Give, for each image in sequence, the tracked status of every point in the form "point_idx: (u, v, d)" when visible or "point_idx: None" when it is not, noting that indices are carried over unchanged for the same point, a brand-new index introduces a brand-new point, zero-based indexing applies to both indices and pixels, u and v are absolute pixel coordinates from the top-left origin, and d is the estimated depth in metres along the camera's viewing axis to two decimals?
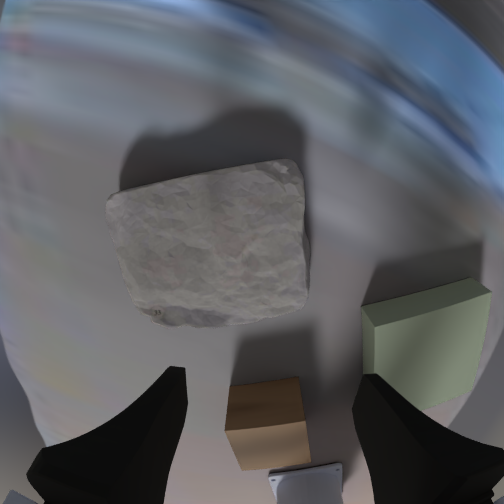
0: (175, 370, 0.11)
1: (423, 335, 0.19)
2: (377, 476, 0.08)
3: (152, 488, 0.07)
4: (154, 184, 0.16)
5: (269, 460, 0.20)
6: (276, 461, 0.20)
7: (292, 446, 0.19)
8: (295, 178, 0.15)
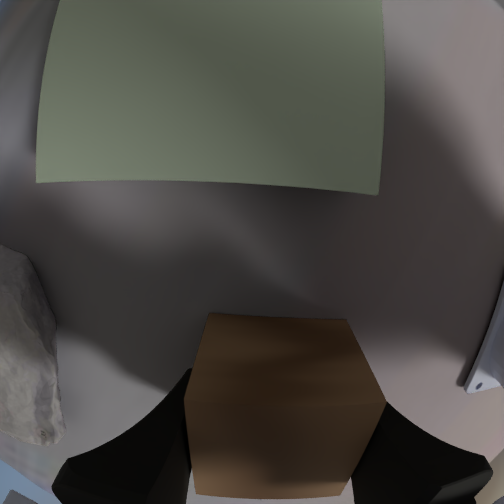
0: None
1: (89, 57, 0.07)
2: (357, 479, 0.08)
3: (177, 493, 0.07)
4: None
5: (323, 466, 0.08)
6: (335, 458, 0.08)
7: (284, 433, 0.08)
8: None
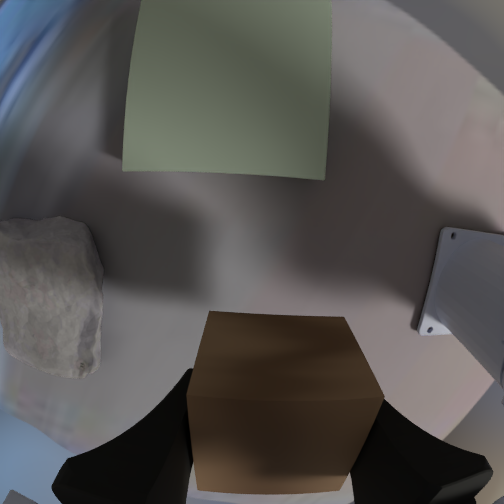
0: None
1: (159, 98, 0.13)
2: (357, 479, 0.08)
3: (177, 493, 0.07)
4: (1, 323, 0.18)
5: (323, 461, 0.08)
6: (334, 452, 0.08)
7: (284, 428, 0.08)
8: None
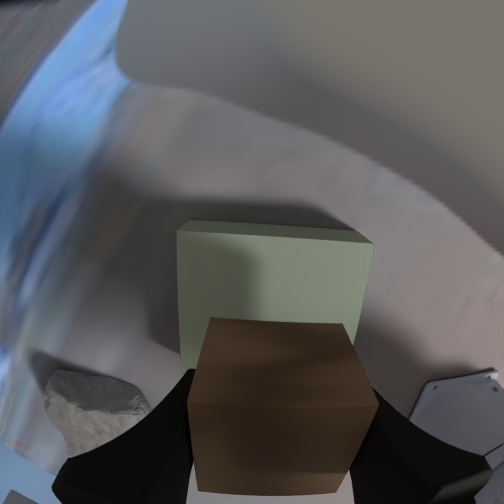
0: None
1: None
2: (357, 479, 0.08)
3: (177, 493, 0.07)
4: None
5: (319, 464, 0.09)
6: (330, 457, 0.09)
7: (282, 433, 0.08)
8: (49, 394, 0.19)
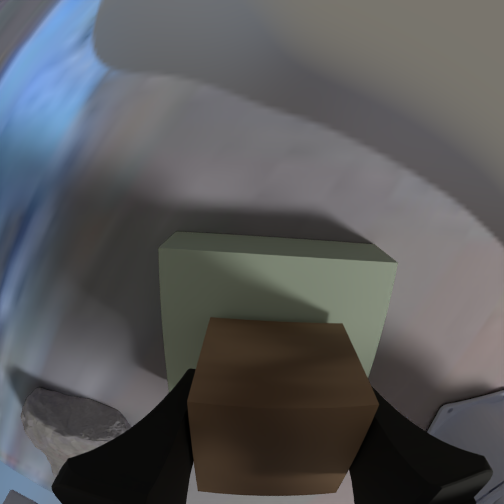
0: None
1: None
2: (357, 479, 0.08)
3: (177, 493, 0.07)
4: (49, 461, 0.18)
5: (320, 464, 0.09)
6: (331, 456, 0.09)
7: (282, 433, 0.08)
8: (26, 415, 0.16)
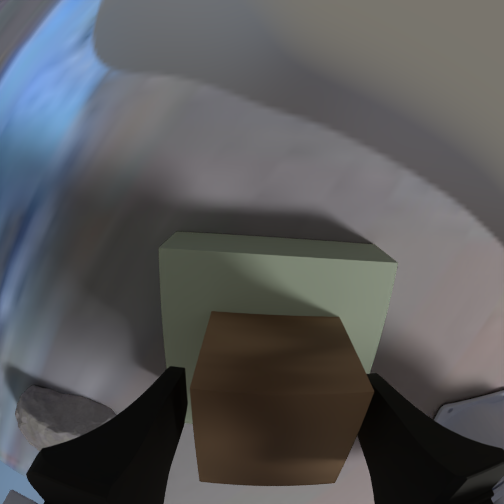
0: (175, 370, 0.11)
1: None
2: (377, 476, 0.08)
3: (152, 488, 0.07)
4: None
5: (318, 453, 0.09)
6: (329, 445, 0.09)
7: (280, 420, 0.09)
8: (20, 412, 0.16)
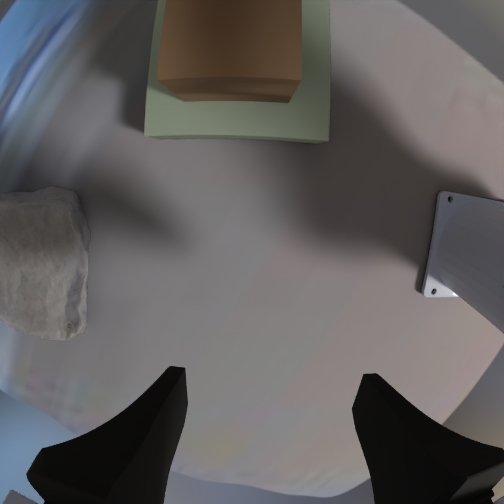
0: (175, 370, 0.11)
1: None
2: (377, 476, 0.08)
3: (152, 488, 0.07)
4: None
5: (271, 23, 0.10)
6: (278, 14, 0.09)
7: None
8: None
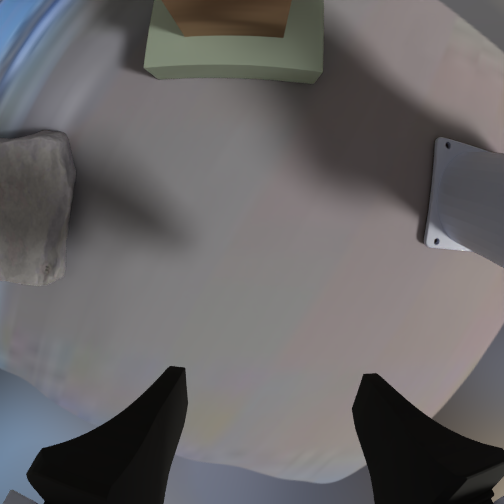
0: (175, 370, 0.11)
1: None
2: (377, 476, 0.08)
3: (152, 488, 0.07)
4: None
5: None
6: None
7: None
8: None
